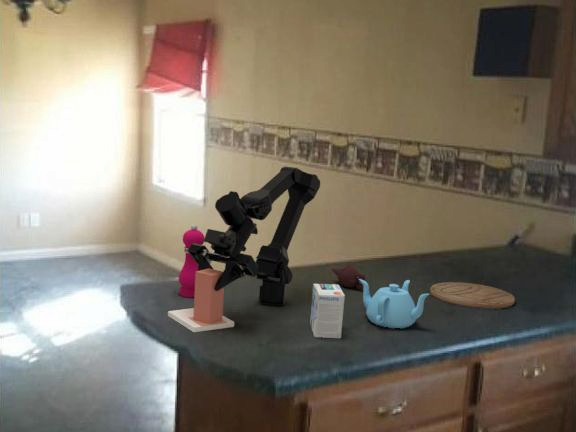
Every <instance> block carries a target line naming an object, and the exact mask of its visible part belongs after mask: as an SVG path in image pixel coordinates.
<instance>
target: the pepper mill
mask: <svg viewBox="0 0 576 432" xmlns="http://www.w3.org/2000/svg"><path fill="white" fill-rule="evenodd" d="M190 228H191V229H188V230H186V231H185V232H184V233H183V235H182V243H183V245H185V246H184V247H183V248H184V249H183V252H184V253H185V254H184V255H185V258H184V263H183V266H182V268H181V270H180V272H179V275H178V283H179V285H180V286H181V287H180V288H179V295H180V296H182V297H184V298H194V295H195V275H196V271H198V264H197V263H196V262H195V261H194V260H193V258H192V257H191V255H190V254H189V253H188V251H187V250H188V249H189V247H190V245H191V244H200V245H204V244H205V242H204V238H205V235H204V233H203V232H202V231H200V230H199V229H198V225H197V224H196V223H192V224H191V226H190Z"/></svg>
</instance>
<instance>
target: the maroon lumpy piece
mask: <svg viewBox="0 0 576 432" xmlns="http://www.w3.org/2000/svg"><path fill="white" fill-rule="evenodd" d="M331 271H332V272H333V273H334V274H335V276H336V277H337V280H338V283H339V284H340V287H343V286H344V287H345V288H349V289H352V288H354V287H356V289H358V290H359V291H360V292H362V291H364V288H363V284H362V283H361V281H360V280H359V279H362V280H364V281H365V280H366V279H367V278H366V277H367V276H366V275H365V274H364V273H361V272H360V271H359V270H358V269H357V268H355V267H354V266H353V265H345V267H333V268H331Z"/></svg>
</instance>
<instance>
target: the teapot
mask: <svg viewBox="0 0 576 432" xmlns="http://www.w3.org/2000/svg"><path fill="white" fill-rule="evenodd" d="M359 280H360V283H361V284H363V288H364V291H363V293H362V294H363V295H362V302H363V305H364V307H365V308H366V313H365V314H366V316H367V318H368V319H369V321H370V322H371V323H372V324H373V323H374V325H375V324H376V325H375V326H378V325H379V326H378V327H382V326H383V328H386V327H388V328H387V329H395V328H400V329H406V327H407V328H409V326H410V327H411V326H413V324H415V322H416V321H417V319H419V318H420V317H421V316H422V314H423V312H424V305H425V300H426V298H427V297H428V296H429V295H430V293H422V294H420V296H419V297H418V300H417V304H416V305H415V302H414V300H413V298H412V296H411V294H410V293H409V285H410V282H411V280H410V279H407V280H405V281H403V284H402V287H401V288H400V285H398V284H396V283H390V284H389V286H385V287H380V288H379V289H378V290H377V291H376V292H375V293H374V294H373V295H372V296H371V294H370V285H369V284H368V282H367V281H365V280H362V279H359Z"/></svg>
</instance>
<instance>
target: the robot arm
mask: <svg viewBox="0 0 576 432" xmlns="http://www.w3.org/2000/svg"><path fill="white" fill-rule="evenodd" d="M318 177H319V176H318V175H317V174H313V173H308V172H306V171H303V170H302V169H300V168H298V167H293V166H282V167H281V169H280V171H279V172H278V173H277V174H276V175H274V176H273V177H272V178H271V179H270V180H269V181H268V182H266V183H265V184H264V185H263V186H262V187H261V188H259V189H258V190H254V191H251V192H248V193H246V194H244V195H242V197H241V198H240V195H239V193H238V192H237V191H232V190H230V191H229V192H228V194H224V195H222V196H221V197H219V198H218V199H216V201H215V203H214V208H215V210H216V211H217V213H218V214H219V216H220V217H221V219H222V220H223V222H224V224H225V225H227V226H229V227H228V228H227V230H226V231H220V230H216V229H211V228H207V230H206V233H205V235H204V243H208V244H210V249H212V251H213V252H211V251H209V249H208V248H207V247H206V245H204V244H203V245H200V244H191V245H190V247H189V249H188V250H187V251H188V253H189V254H190V255H191V257H192V258H193V260H194V261H195V262H196V263H197V264H198V271H200V270H204V269H208V268H209V269H214V268H213V266H212V262H217V263H221V264H225V266H224V269H223V271H222V272H223V273H222V275H221V277H220V278H219V280H218V282H217V284H216V286H215V288H214V289H215V291H219V290H220V289H222V288H223V287H224V288H225V287H226V286H228V285H229V284H231V283H233V282H234V281H236V280H238V279H241V278H245V276H247V277H252V278H255V277H256V279H257V280H261V281H262V283H260V285H259V291H258V292H259V295H258V301H260V303H259V304H260V305H269V306H285V299H286V298H285V293H286V292H285V291H286V285H289V284H290V283H291V282H292V279H293V276H294V275H293V272H292V271H291V269H290V268H289V266H288V265H289V263H290V258H289V253H288V250H289V248H290V247H289V246H290V244H291V242H292V240H293V237H294V235H295V232H296V229H297V227H298V224H299V222H300V219H301V217H302V214H303V211H304V209H305V207H306V206H307V204H310V202H311V201H313V200H314V199H315V197H316V195H317V194H318V192H319V189H321V181H320V179H319V178H318ZM286 191H287V193H288V201H287V202H286V204H285V207H284V210H283V213H282V215H281V217H280V219H279V223H278V224H277V227H276V229H275V230H274V231H275V232H274V234H273V237H272V239H271V242H270V243H269V244H268V245H264V244H263V245H261V247H260V248H259V252H258V255H256V257H255V258H256V260H255V258H253V256H252V255H251V254H245V253H242V252H246V250H247V247H246V244H247V242H248V240H249V238H250V237H251V235H258V233H259V230H258V227H257V223H254V221H253V220H258V221H263V220H265V219H267V217H268V215H269V214H270V213H271V212H272V211H273V204H274V203H275V202H276V201H277V200H278V199H279V198H280V197H281V196H282V195H283V194H284V193H286Z"/></svg>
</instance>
